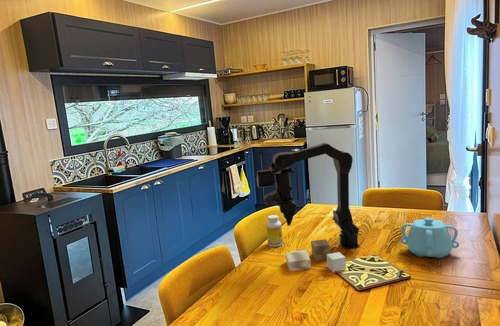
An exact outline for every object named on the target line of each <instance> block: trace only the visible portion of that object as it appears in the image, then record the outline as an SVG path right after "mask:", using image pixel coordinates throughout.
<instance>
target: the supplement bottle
mask: <svg viewBox="0 0 500 326" xmlns="http://www.w3.org/2000/svg"><path fill="white" fill-rule="evenodd" d="M265 225H266V227H265V228H266V238H267V245H268V246H269V247H272V248H273V247H274V248H276V247H277V248H278V247H281V246H282V245H283V244H284V239H283V228H282V223H281V221H279V215H276V214H271V215H268V216H267V222H266V224H265Z"/></svg>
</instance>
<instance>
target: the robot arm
mask: <svg viewBox="0 0 500 326" xmlns="http://www.w3.org/2000/svg"><path fill="white" fill-rule="evenodd" d="M322 155H326V156H328V157H330V158H331V159H332V160H333V165H334V168H335V171H336V176H337V177H336V179H337V182H336V183H337V189H336V191H337V193H336V194H337V207H336V210H332V215H333V216H332V220H333V222H334V224H335V225H336V226H338V227H339V229H340V233H339V235H338V236H339V237H338V238H339V245H341V247H342V248H343V249H351V248H352V249H353V248H359V247H360V244H359V238H358V234H359V231H360V228H359V227H358V226H357V225H355V224H354V220H353V216H352V213H351V209H350V193H349V191H350V186H349V185H350V183H349V182H350V181H349V176H350V175H349V174H350V171H351V169H352V168H353V167H352V165H353V161H354V160H353V159H354V158H353V155H351V154H350V152H349V153H348V152H347V151H343V150H339V149H337V148H335V147H333V146H331V144H329V143H326V142H321V143H320V144H317V145H314V146H309V147H307V148H302V149H299V150H295V151H282V152H277V153H275V154H274V155H273V157H272V162H271V164H270V166H269V167H268V169H265V170H257V171H256V179H255V180H256V185H257V188H258V189H261V188H262V189H263V188H269V187H273V185H276V186H275V190H273V191H271V192H269V193H267V194H265V195H263V201H264V202H265V204H266V206H271V205H272V204H273V203H275V202H276V204H277V205H278V207H279V211H280V213H281V214H282V215H283V218H284V219H285V222H286V224H287V225H286V226H287V227H288V226H291V225H292V221H293V219H294V216H295V213H296V211H298V209H297V204H296V202H295V201H293V200H294V199H293V195H292V189H293V186H292V185H291V176H290V174H292V173H295V170H294V169H292V167H291V166H293V165H294V164H296V163H298V162H300V161H304V160H307V159H311V158H315V157H318V156H319V157H320V156H322Z"/></svg>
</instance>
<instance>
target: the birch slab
mask: <svg viewBox="0 0 500 326" xmlns="http://www.w3.org/2000/svg"><path fill="white" fill-rule="evenodd" d="M299 251H300V252H293V251H290V252H291V253H289V252H286V253H285V259H286V264H287V268H288V270H289V272H295V271H305V270H311V269H312V265H311V264H312V263H311V258H309V257H310V255H309V253H308V251H307V250H306V251H307V252H306V251H302V250H299ZM307 253H308V254H307ZM308 255H309V256H308Z"/></svg>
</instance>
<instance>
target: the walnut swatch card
mask: <svg viewBox="0 0 500 326" xmlns="http://www.w3.org/2000/svg"><path fill="white" fill-rule="evenodd" d="M300 251H306V252H307V254H308V256H309V258H310V255H309V253H308V251H307V250H306V249H304V250H303V249H302V250H293V251H289V252H288V253H291V252H300ZM310 259H311V258H310Z"/></svg>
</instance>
